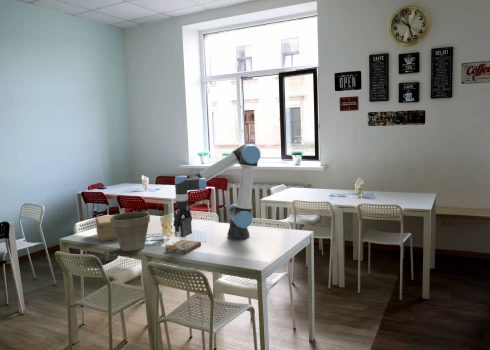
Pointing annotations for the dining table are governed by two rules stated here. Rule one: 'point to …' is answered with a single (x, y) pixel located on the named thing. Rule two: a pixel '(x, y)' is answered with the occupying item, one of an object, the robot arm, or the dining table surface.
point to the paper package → (105, 228)
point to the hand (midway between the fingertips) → (183, 234)
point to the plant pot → (131, 229)
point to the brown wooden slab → (182, 246)
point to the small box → (185, 227)
